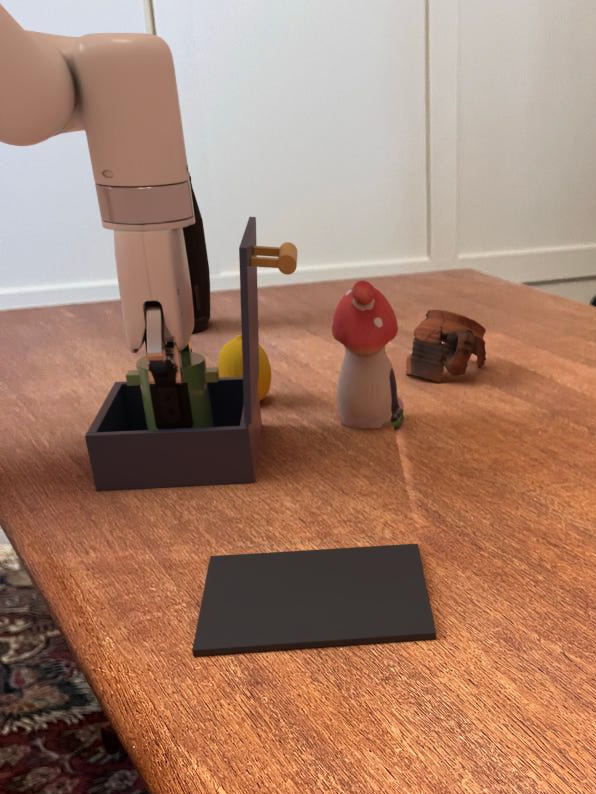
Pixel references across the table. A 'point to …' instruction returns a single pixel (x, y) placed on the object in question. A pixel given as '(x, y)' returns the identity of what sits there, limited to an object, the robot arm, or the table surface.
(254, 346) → the box lid
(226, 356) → the lemon
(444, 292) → the table surface
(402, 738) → the table surface
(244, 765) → the table surface
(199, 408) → the green pot
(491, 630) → the table surface
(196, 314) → the portable speaker
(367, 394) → the decorative ornament
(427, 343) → the brown carved piece
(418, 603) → the grey mat
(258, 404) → the box
